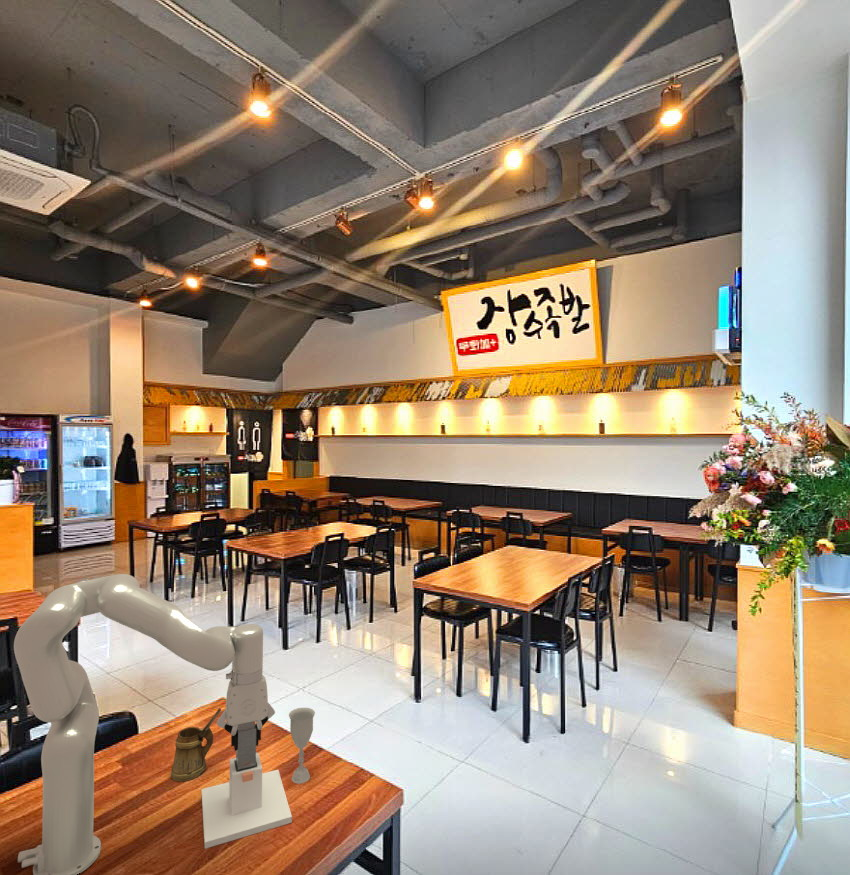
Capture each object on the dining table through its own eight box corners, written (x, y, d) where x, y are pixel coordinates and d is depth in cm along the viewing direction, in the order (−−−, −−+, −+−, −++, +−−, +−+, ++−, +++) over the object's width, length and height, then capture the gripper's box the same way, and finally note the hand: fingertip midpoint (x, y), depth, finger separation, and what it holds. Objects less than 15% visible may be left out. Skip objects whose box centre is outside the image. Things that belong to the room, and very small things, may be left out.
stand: (204, 848, 120) (205, 799, 120) (201, 794, 138) (202, 751, 138) (291, 822, 128) (292, 776, 128) (278, 774, 146) (278, 734, 146)
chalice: (317, 770, 148) (318, 708, 148) (309, 786, 142) (310, 721, 142) (292, 768, 149) (293, 706, 149) (283, 784, 142) (284, 719, 142)
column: (237, 795, 130) (238, 732, 130) (235, 784, 134) (236, 723, 134) (255, 790, 132) (256, 728, 132) (253, 780, 136) (254, 719, 136)
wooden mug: (214, 781, 143) (215, 716, 143) (165, 782, 143) (166, 717, 143) (225, 761, 152) (226, 700, 152) (179, 761, 152) (180, 700, 152)
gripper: (212, 687, 126) (211, 762, 126) (283, 675, 133) (281, 745, 133) (211, 674, 133) (210, 745, 133) (278, 663, 140) (277, 730, 140)
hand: (246, 744), depth 133 cm, fingers closed on column, 4 cm apart
